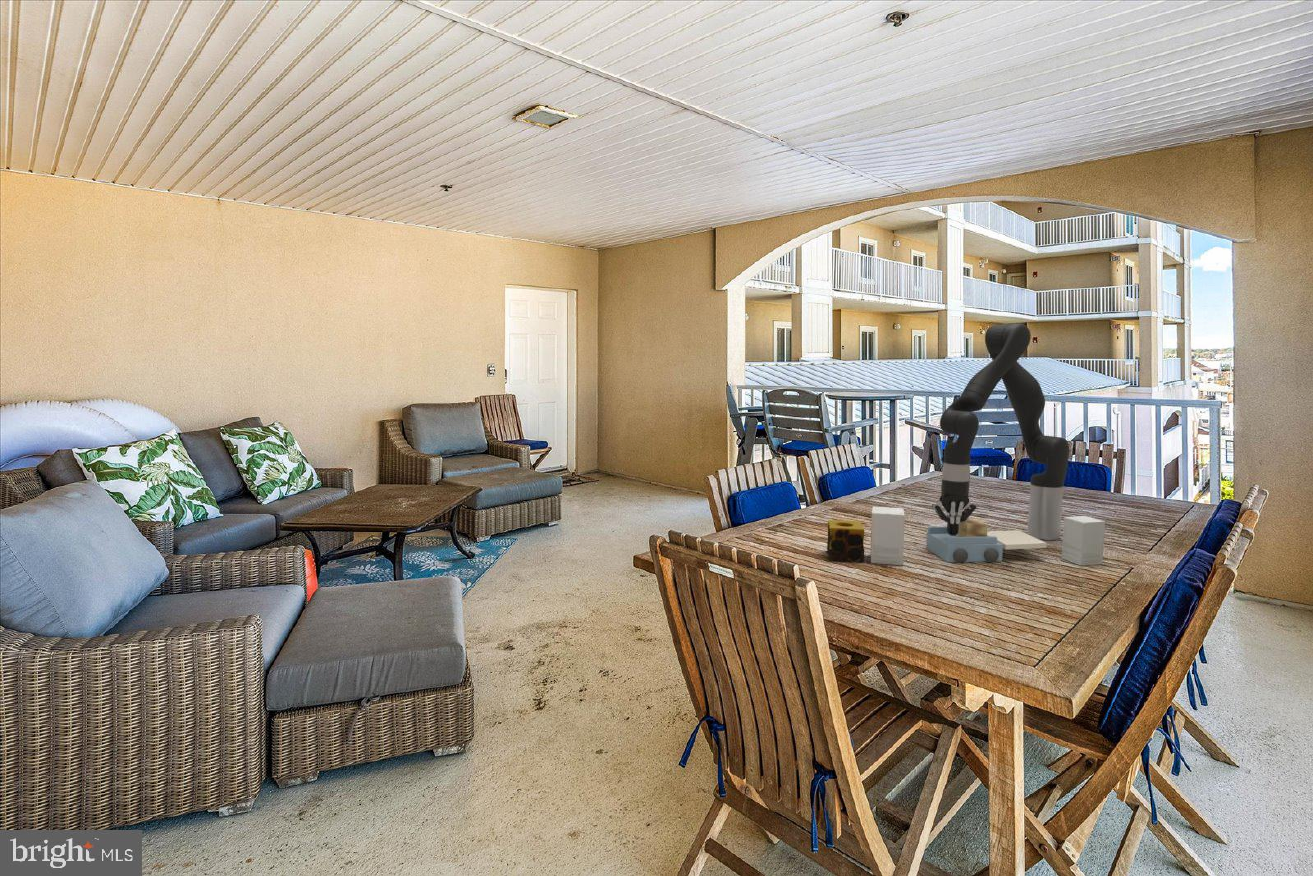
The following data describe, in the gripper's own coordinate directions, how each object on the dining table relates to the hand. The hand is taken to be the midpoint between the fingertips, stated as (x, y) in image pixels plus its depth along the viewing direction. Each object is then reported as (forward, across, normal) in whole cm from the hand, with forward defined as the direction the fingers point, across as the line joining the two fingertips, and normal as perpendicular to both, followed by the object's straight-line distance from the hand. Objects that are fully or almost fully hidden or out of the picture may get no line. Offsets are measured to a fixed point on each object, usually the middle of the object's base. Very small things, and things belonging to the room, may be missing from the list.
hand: (952, 535), depth 196 cm
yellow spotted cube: (+7, +32, 0) cm, 33 cm away
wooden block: (+1, -6, 0) cm, 6 cm away
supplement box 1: (+6, +21, +4) cm, 22 cm away
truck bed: (+6, -4, 0) cm, 7 cm away
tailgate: (+2, -12, 0) cm, 12 cm away
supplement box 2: (+6, -34, +8) cm, 36 cm away
